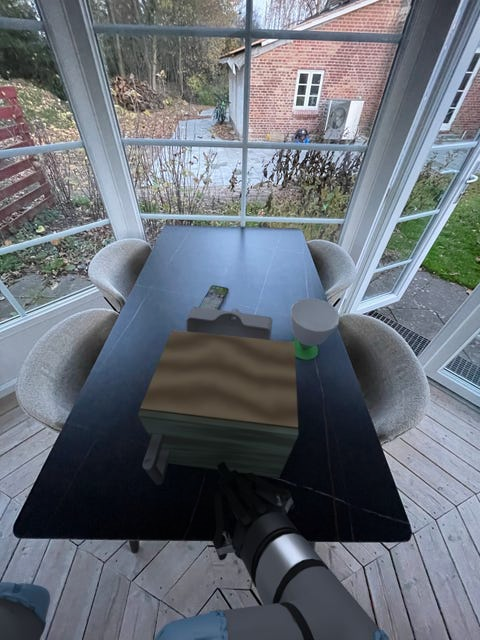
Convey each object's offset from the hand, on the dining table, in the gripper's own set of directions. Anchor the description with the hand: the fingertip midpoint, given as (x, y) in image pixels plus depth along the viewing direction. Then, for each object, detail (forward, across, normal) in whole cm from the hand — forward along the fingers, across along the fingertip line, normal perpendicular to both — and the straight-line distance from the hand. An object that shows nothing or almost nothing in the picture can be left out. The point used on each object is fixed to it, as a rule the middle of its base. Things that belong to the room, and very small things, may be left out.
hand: (222, 469), depth 53 cm
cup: (+21, +40, +9) cm, 46 cm away
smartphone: (+46, +24, +34) cm, 62 cm away
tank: (+31, +20, +19) cm, 41 cm away
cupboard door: (+6, -1, -6) cm, 8 cm away
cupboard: (+13, +6, +2) cm, 15 cm away
